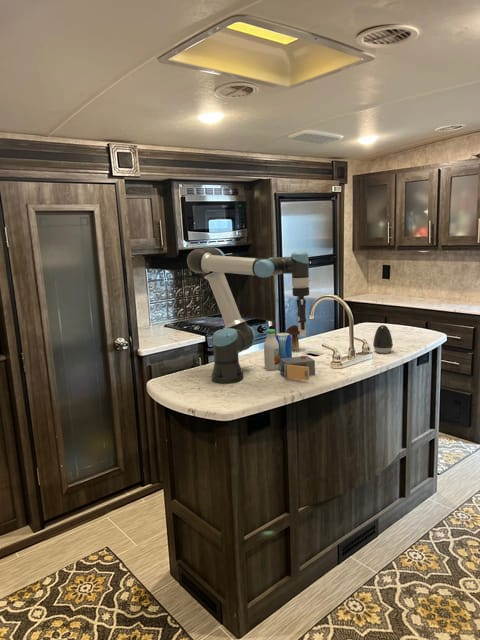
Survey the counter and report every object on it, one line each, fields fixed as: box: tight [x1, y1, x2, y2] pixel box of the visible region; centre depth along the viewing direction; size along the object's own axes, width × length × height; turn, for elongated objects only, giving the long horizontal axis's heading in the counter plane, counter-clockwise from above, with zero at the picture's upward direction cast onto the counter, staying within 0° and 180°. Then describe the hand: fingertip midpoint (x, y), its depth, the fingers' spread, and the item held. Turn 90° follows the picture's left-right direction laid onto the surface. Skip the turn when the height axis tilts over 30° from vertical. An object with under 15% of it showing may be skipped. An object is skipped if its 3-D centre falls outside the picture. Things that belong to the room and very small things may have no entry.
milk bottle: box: [263, 328, 280, 371], centre depth 235 cm, size 8×8×20 cm
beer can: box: [275, 332, 293, 359], centre depth 242 cm, size 8×8×16 cm
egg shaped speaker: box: [372, 324, 394, 354], centre depth 254 cm, size 10×10×15 cm
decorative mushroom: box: [284, 324, 300, 352], centre depth 268 cm, size 11×11×15 cm
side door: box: [283, 364, 310, 381], centre depth 214 cm, size 12×2×6 cm, turn 59°
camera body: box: [278, 355, 316, 376], centre depth 225 cm, size 15×10×8 cm, turn 104°
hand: (302, 333), depth 214 cm, fingers open, 12 cm apart
